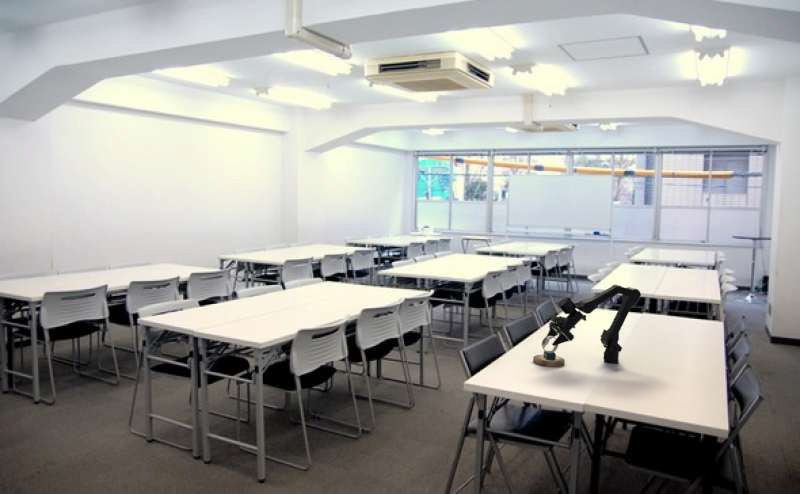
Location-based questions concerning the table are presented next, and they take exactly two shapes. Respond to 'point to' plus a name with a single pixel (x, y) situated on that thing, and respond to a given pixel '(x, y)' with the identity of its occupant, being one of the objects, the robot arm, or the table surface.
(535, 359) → the round dish
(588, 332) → the table surface
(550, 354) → the watch
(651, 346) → the table surface
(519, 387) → the table surface
